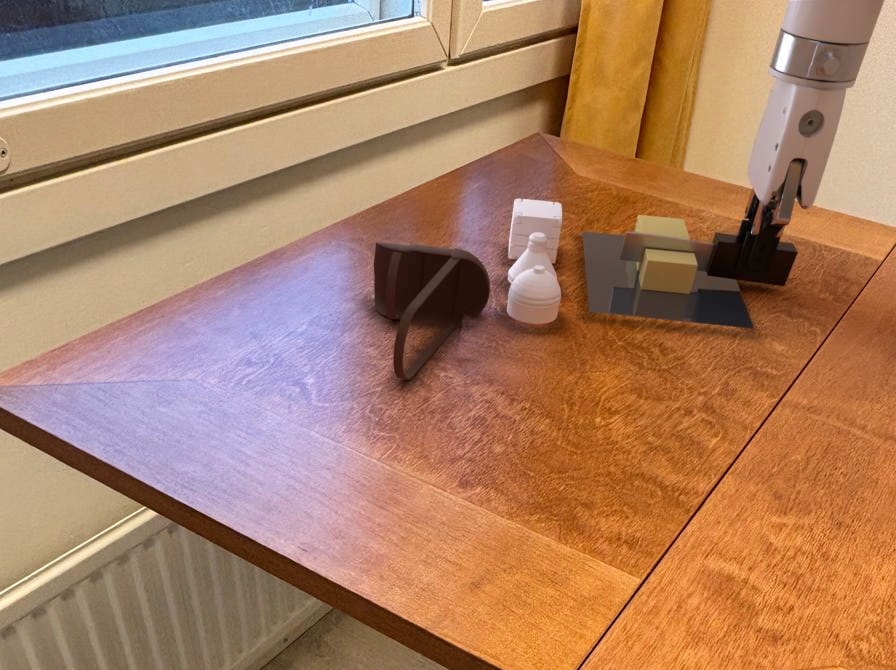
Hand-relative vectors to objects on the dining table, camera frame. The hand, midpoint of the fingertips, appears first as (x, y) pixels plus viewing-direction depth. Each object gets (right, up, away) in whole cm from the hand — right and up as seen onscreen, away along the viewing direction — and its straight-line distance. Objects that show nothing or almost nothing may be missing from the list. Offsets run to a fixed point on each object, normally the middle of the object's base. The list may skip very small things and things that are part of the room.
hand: (748, 266), depth 91 cm
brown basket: (-34, -12, -10) cm, 38 cm away
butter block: (-8, +3, +5) cm, 10 cm away
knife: (-4, 0, +1) cm, 4 cm away
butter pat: (-9, -2, 0) cm, 9 cm away
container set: (-22, -2, 0) cm, 22 cm away
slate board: (-8, -1, +3) cm, 9 cm away
